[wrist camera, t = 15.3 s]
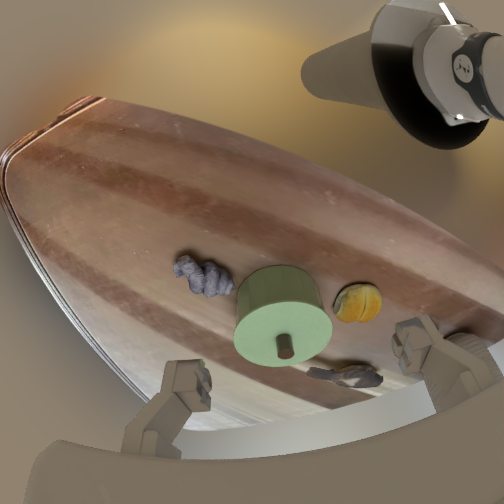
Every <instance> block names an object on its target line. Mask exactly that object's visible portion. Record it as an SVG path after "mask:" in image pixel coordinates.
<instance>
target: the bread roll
mask: <svg viewBox="0 0 504 504" xmlns="http://www.w3.org/2000/svg"><path fill="white" fill-rule="evenodd" d="M381 307H382V297H381V294H380V292H379V290H378V289H377V288H376V287H375V286H373V285H370V284H364V285H362V284H355V285H351V286H349V287H347V288H345V289H344V290H343V291H341V292H340V294H339V296H338V297H337V299H336V301H335V305H334V314H335V315H336V317H337V319H339V320H340V321H342V322H345V323H349V322H354V321H357V322H361V323H362V322H368V321H370V320H372V319H373V318H374V317H375V316H376V315H377V314H378V313H379V311H380V309H381Z"/></svg>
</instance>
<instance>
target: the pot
mask: <svg viewBox="0 0 504 504" xmlns="http://www.w3.org/2000/svg"><path fill="white" fill-rule="evenodd" d="M291 299H292V300H302V301H307V302H310V303H313V304H315V305H317V306H319V307H320V308H322V309H323V310H324V311H325V309H324V306H323V303H322V300H321V297H320V294H319V291H318V288H317V286H316V284H315V282H314V280H313V279H312V278H311V277H310V276H309V275H308V274H307V273H306V272H304V271H303V270H301V269H298V268H295V267H292V266H284V265H277V266H270V267H266V268H263V269H260V270H258V271H256V272H254V273H253V274H251V275H250V276H249V277H248V278H246V280H245V281H244V282H243V283H242V284H241V286H240V288H239V290H238V294H237V300H236V325H237V323H238V322H239V321H240V319H241V318H242V317H243V316H244V315H245V314H247V313H248V312H249V311H251V310H252V309H254V308H256V307H258V306H260V305H263V304H266V303H269V302H273V301H278V300H291Z"/></svg>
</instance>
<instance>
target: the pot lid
mask: <svg viewBox="0 0 504 504" xmlns="http://www.w3.org/2000/svg"><path fill="white" fill-rule="evenodd" d="M331 335H332V323H331V319H330V317H329V316H328V314H327V313H326V312H325V311H324V310H323V309H322V308H320V307H319V306H317V305H315V304H313V303H310V302H307V301H302V300H292V299H291V300H278V301H273V302H269V303H266V304H263V305H260V306H258V307H256V308H254V309H252V310H251V311H249V312H248V313H247V314H245V315H244V316H243V317H242V318H241V319H240V321H239V322H238V323H237V325H236V327H235V330H234V334H233V342H234V346H235V348H236V350H237V351H238V352H239V354H240V355H242V356H243V357H244V358H245V359H247V360H249V361H251V362H253V363H256V364H259V365H263V366H270V367H282V366H289V365H294V364H298V363H301V362H303V361H306V360H308V359H310V358H312V357H313V356H315V355H316V354H318V353H319V352H320V351H321V350H323V348H324V347H325V346H326V345H327V344H328V342H329V340H330V338H331Z"/></svg>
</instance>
